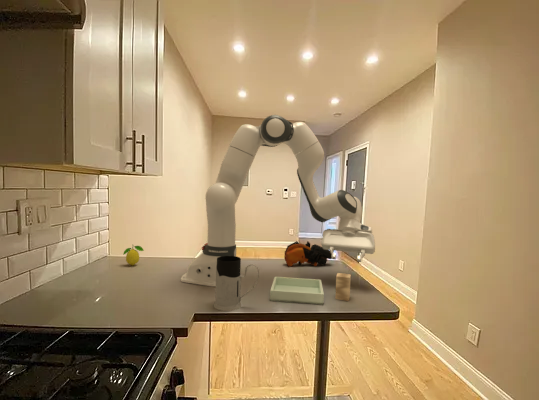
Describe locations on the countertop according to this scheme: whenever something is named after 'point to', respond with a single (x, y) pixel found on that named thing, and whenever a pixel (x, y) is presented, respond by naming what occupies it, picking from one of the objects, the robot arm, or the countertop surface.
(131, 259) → the lemon
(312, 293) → the tray
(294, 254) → the tool
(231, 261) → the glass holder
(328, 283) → the countertop surface
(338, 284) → the block
